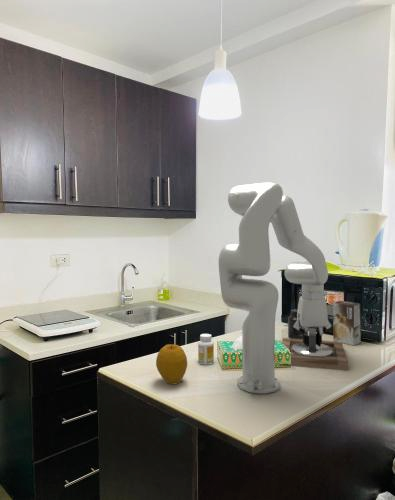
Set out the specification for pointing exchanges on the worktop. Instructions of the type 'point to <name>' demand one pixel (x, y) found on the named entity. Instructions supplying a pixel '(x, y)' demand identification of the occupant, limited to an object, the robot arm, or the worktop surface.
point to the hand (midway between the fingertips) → (312, 344)
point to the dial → (312, 347)
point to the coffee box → (346, 322)
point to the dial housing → (333, 362)
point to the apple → (171, 363)
